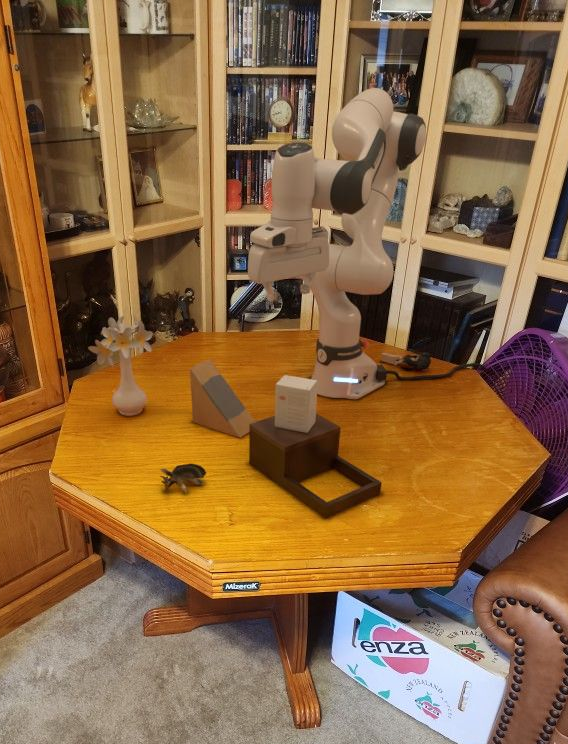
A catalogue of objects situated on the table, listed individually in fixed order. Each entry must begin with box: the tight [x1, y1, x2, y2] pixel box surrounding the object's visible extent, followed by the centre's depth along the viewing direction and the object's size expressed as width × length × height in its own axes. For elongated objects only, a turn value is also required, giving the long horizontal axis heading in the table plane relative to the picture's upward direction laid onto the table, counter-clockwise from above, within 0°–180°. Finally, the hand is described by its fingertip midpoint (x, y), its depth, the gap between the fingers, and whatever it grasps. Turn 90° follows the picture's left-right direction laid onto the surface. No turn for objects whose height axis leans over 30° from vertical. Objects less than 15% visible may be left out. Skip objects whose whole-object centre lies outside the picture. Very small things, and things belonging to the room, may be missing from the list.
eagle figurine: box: [159, 463, 207, 494], centre depth 145 cm, size 8×7×9 cm
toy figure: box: [381, 347, 432, 372], centre depth 203 cm, size 7×6×15 cm
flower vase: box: [87, 313, 154, 417], centre depth 171 cm, size 13×18×25 cm
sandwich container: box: [189, 358, 256, 438], centre depth 168 cm, size 9×15×15 cm, turn 56°
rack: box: [248, 412, 383, 519], centre depth 148 cm, size 16×27×10 cm, turn 36°
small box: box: [274, 374, 318, 433], centre depth 147 cm, size 8×6×10 cm
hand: (288, 296), depth 147 cm, fingers open, 8 cm apart
